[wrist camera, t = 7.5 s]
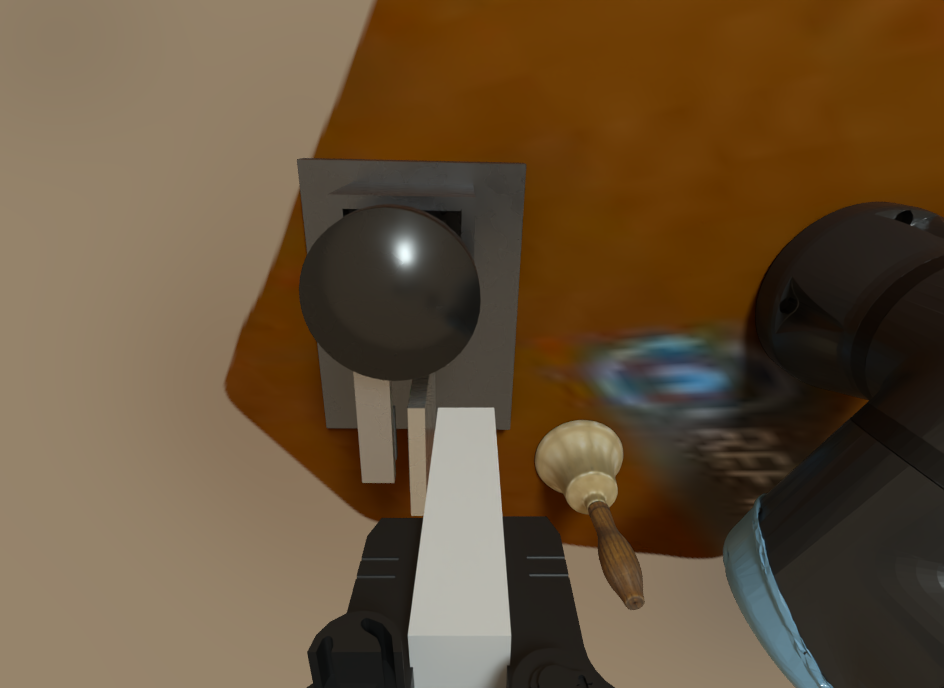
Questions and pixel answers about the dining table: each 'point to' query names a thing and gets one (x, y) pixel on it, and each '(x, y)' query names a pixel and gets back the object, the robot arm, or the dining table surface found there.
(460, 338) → the black ball joystick
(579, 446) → the hand bell
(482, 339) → the press stand
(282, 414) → the dining table surface
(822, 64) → the dining table surface
